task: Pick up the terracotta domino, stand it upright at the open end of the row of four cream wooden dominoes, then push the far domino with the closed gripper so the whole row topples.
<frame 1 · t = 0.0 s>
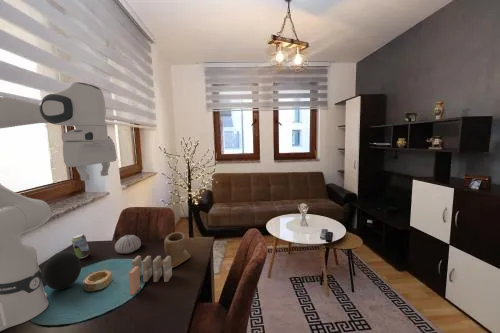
hand: (95, 177, 79), 48 cm above the table, tool pointing down, fingers open, 8 cm apart
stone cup: (177, 263, 119), on the table
domino 1: (168, 278, 106), on the table
domino 4: (137, 278, 106), on the table
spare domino: (135, 290, 97), on the table
beverage can: (82, 257, 127), on the table
domino 3: (147, 278, 106), on the table
sea urchin shell: (128, 250, 135), on the table
domino 2: (158, 278, 106), on the table
decorative egg: (64, 287, 100), on the table
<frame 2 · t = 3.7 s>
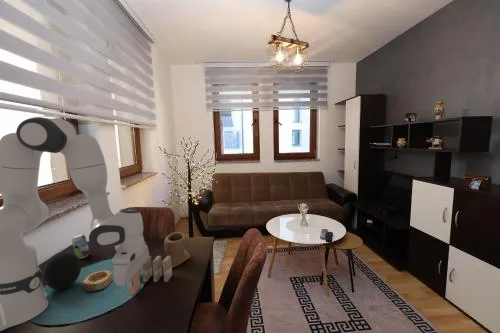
hand: (134, 282, 97), 4 cm above the table, tool pointing down, fingers closed on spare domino, 5 cm apart
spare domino: (135, 290, 97), on the table, touching gripper
everything else where it was.
when the fingers open (5 cm above the table, at t = 9.9 s): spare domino stays where it is, on the table.
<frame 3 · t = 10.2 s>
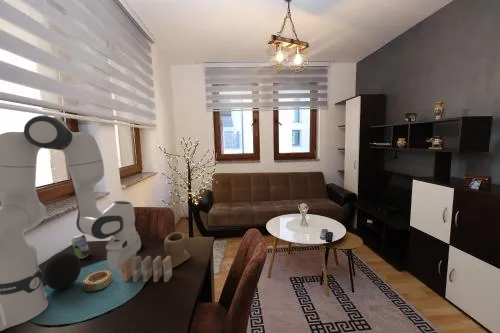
hand: (127, 268, 106), 5 cm above the table, tool pointing down, fingers open, 8 cm apart
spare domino: (128, 278, 107), on the table
everything else where it was.
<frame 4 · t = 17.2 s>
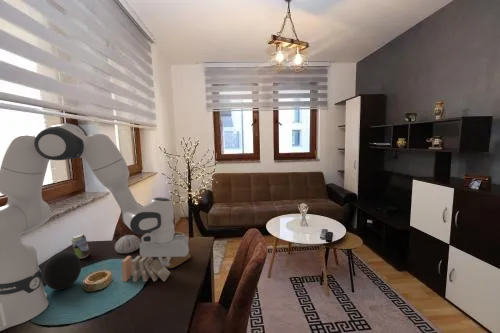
hand: (165, 265, 105), 6 cm above the table, tool pointing down, fingers closed
domino 1: (167, 277, 106), point 1 cm above the table, tilted 42°
domino 3: (147, 277, 106), on the table, tilted 9°
domino 2: (157, 277, 106), on the table, tilted 27°
everything else where it was.
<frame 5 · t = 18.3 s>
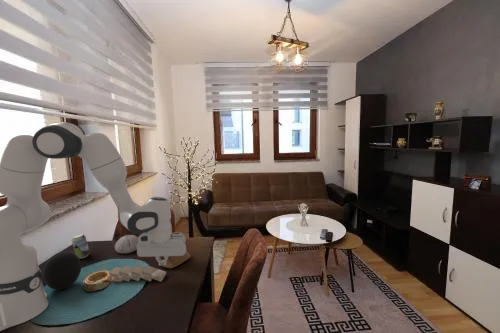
hand: (162, 265, 105), 6 cm above the table, tool pointing down, fingers closed
domino 1: (163, 276, 106), point 1 cm above the table, tilted 70°, touching domino 2
domino 4: (132, 276, 106), point 1 cm above the table, tilted 73°, touching domino 3
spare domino: (125, 277, 107), on the table, tilted 90°
domino 3: (141, 276, 106), point 1 cm above the table, tilted 70°, touching domino 4
domino 2: (153, 276, 106), point 1 cm above the table, tilted 70°, touching domino 1
everything else where it was.
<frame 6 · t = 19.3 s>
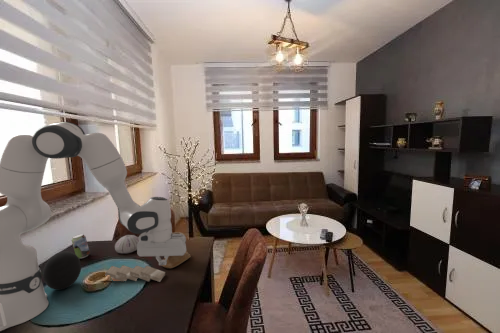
hand: (162, 264, 105), 6 cm above the table, tool pointing down, fingers closed
domino 4: (128, 276, 106), point 1 cm above the table, tilted 68°, touching domino 3
domino 3: (139, 276, 106), point 1 cm above the table, tilted 68°, touching domino 2, domino 4
domino 2: (152, 276, 106), point 1 cm above the table, tilted 71°, touching domino 1, domino 3
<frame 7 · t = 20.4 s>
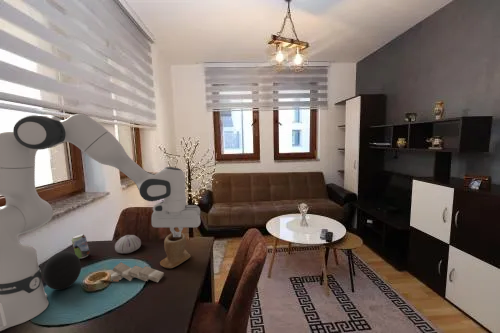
hand: (177, 236, 104), 19 cm above the table, tool pointing down, fingers closed
domino 4: (124, 274, 106), point 2 cm above the table, tilted 90°, touching domino 3, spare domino
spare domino: (122, 277, 107), on the table, tilted 90°, touching domino 4
domino 3: (134, 276, 106), point 1 cm above the table, tilted 60°, touching domino 2, domino 4
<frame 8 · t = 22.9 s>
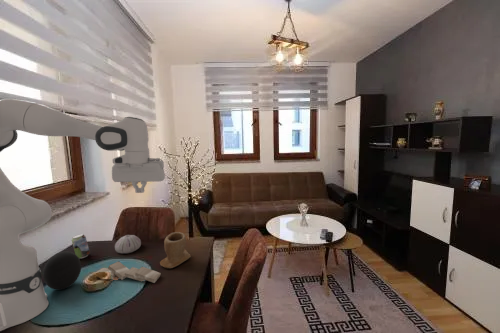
hand: (140, 192, 98), 39 cm above the table, tool pointing down, fingers closed
domino 1: (157, 278, 105), point 1 cm above the table, tilted 72°, touching domino 2
domino 4: (116, 273, 107), point 1 cm above the table, tilted 89°, touching domino 3
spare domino: (121, 277, 107), on the table, tilted 90°
domino 3: (127, 275, 107), point 1 cm above the table, tilted 68°, touching domino 4
domino 2: (147, 277, 106), point 1 cm above the table, tilted 78°, touching domino 1
everything else where it was.
at the end: domino 1 tilted 73°; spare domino tilted 90°; the gripper is holding nothing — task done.
